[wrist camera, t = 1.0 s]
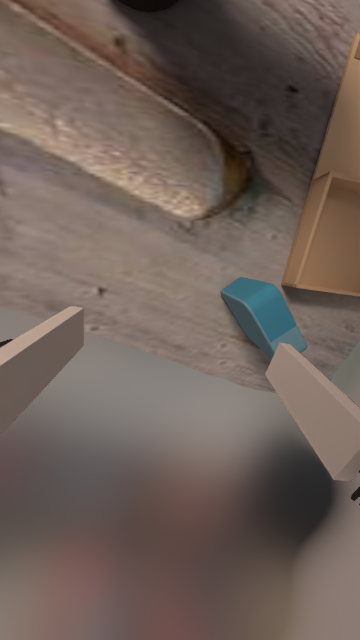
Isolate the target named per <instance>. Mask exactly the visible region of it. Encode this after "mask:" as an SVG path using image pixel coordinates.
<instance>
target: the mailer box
mask: <svg viewBox="0 0 360 640" xmlns="http://www.w3.org/2000/svg"><path fill="white" fill-rule="evenodd" d="M281 285H284V286H289V287H294V288H301V289H308V290H316V291H323V292H330V293H337V294H344V295H351V296H359V297H360V33H357V34H356V35H355V36H354V38H353V41H352V45H351V48H350V51H349V55H348V58H347V62H346V65H345V69H344V72H343V75H342V79H341V82H340V86H339V89H338V92H337V96H336V99H335V103H334V106H333V109H332V113H331V116H330V120H329V123H328V126H327V130H326V133H325V137H324V140H323V144H322V147H321V150H320V154H319V157H318V161H317V164H316V167H315V171H314V174H313V178H312V181H311V184H310V188H309V191H308V195H307V198H306V202H305V205H304V208H303V212H302V215H301V219H300V222H299V225H298V229H297V232H296V236H295V239H294V242H293V246H292V249H291V253H290V256H289V259H288V263H287V266H286V270H285V273H284V277H283V280H282V283H281Z"/></svg>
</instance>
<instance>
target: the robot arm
mask: <svg viewBox="0 0 360 640" xmlns="http://www.w3.org/2000/svg"><path fill="white" fill-rule="evenodd" d="M120 1H122V2H123V3H125V4H127V5H129V6H131V7H133V8H136V9H139V10H144V11H156V10H161V9H164V8H167V7H169V6H171V5H172V4H174V3H175V2H177V1H178V0H120ZM83 345H84V308H80V307H74V306H70V307H68V308H67V309H65V310H63V311H62V312H60V313H58V314H57V315H55V316H53V317H51V318H50V319H48V320H46V321H45V322H43V323H41V324H40V325H38V326H36V327H35V328H33V329H31V330H30V331H28V332H26V333H24V334H23V335H21V336H19V337H18V338H16V339H14V340H13V339H10V340H6V341H3V342H0V436H1V435H2V434H3V433H4V432H5V431H6V429H7V428H8V427H9V426H10V425H11V424H12V423H13V422H14V421H15V420H16V419H17V417H18V416H19V415H20V414H21V413H22V412H23V411H24V410H25V409H26V408H27V407H28V405H29V404H30V403H31V402H32V401H33V400H34V399H35V398H36V397H37V396H38V395H39V394H40V393H41V391H42V390H43V389H44V388H45V387H46V386H47V385H48V384H49V383H50V382H51V381H52V379H53V378H54V377H55V376H56V375H57V374H58V373H59V372H60V371H61V370H62V369H63V367H64V366H65V365H66V364H67V363H68V362H69V361H70V360H71V359H72V358H73V357H74V356H75V354H76V353H77V352H78V351H79V350H80V349H81V348H82V347H83ZM265 375H266V377H267V378H268V380H269V381H270V383H271V385H272V386H273V388H274V389H275V391H276V392H277V394H278V395H279V397H280V398H281V400H282V401H283V403H284V404H285V406H286V407H287V409H288V411H289V412H290V414H291V415H292V417H293V418H294V420H295V421H296V423H297V424H298V426H299V427H300V429H301V430H302V432H303V433H304V435H305V436H306V438H307V440H308V441H309V443H310V444H311V446H312V447H313V449H314V450H315V451H316V453H317V455H318V456H319V458H320V459H321V461H322V462H323V464H324V466H325V467H326V469H327V470H328V472H329V473H330V475H331V476H332V478H333V479H334V480H343V481H351V480H352V479H353V478H354V477H355V476H356V475H357V474H358V473H359V472H360V408H359V407H358V406H357V405H356V404H355V403H354V402H353V401H352V400H351V399H350V398H348V397H347V396H346V395H345V394H344V393H342V391H341V390H339V389H338V388H337V387H336V386H335V385H334V384H333V383H332V382H331V381H330V380H329V379H327V378H326V377H325V376H324V375H323V374H322V373H321V372H320V371H319V370H318V369H316V368H315V367H314V366H313V365H312V364H311V363H310V362H309V361H308V360H307V359H306V358H304V357H303V356H302V355H301V354H300V353H299V352H298V351H297V350H296V349H295V348H293V347H292V346H291V345H290V344H285V343H279V345H278V347H277V349H276V351H275V354H274V356H273V358H272V360H271V362H270V365H269V367H268V369H267V371H266V374H265ZM358 497H360V487H359V488H358V489H357V490H356V491H355V492H354V493H353V494H352V496H351V499H352V500H354V501H355V500H356V499H357V498H358ZM359 505H360V504H359Z"/></svg>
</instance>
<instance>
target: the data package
mask: <svg viewBox="0 0 360 640" xmlns="http://www.w3.org/2000/svg"><path fill="white" fill-rule="evenodd" d="M221 295H222V297H223V299H224V300H225V302H226V304H227V305H228V307H229V308H230V310H231V312H232V313H233V315H234V316H235V318H236V320H237V321H238V323H239V325H240V326H241V328H242V329H243V331H244V333H245V334H246V335H247V337H248V338H249V339H250V340H251V341H252V342H254V343H255V344H256V345H257V346H258V347H259V348H260V349H262V350H263V351H264V352H265V353H266V354H267V355H268V356H270V357H271V358H273V356H274V354H275V351H276V349H277V347H278V345H279V343H285V344H290V345H291V346H292V347H293V348H295V349H296V350H297V351H298V352H299V353H301V352H302V351H304V350H305V349H306V348H307V345H306V343H305V341H304V339H303V337H302V335H301V333H300V331H299V329H298V327H297V325H296V323H295V321H294V319H293V317H292V315H291V313H290V311H289V309H288V307H287V305H286V303H285V301H284V299H283V297H282V295H281V293H280V291H279V290H278V289H277V288H276V287H275V286H274V285H273V284H271V283H267V282H262V281H258V280H253V279H248V278H243V277H240V278H239V279H237V280H236V281H234V282H233V283H231V284H230V285H229V286H227V287H226V288H224V289H223V290H221Z"/></svg>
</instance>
